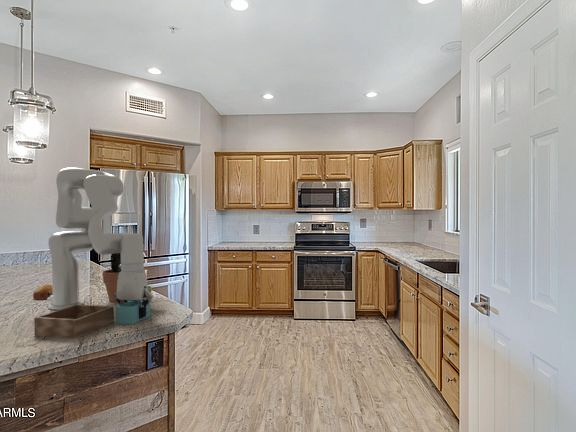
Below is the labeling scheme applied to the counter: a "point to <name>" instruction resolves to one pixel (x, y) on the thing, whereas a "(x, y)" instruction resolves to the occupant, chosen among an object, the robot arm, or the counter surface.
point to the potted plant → (112, 276)
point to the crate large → (73, 321)
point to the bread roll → (43, 292)
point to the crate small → (130, 312)
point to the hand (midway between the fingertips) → (133, 316)
